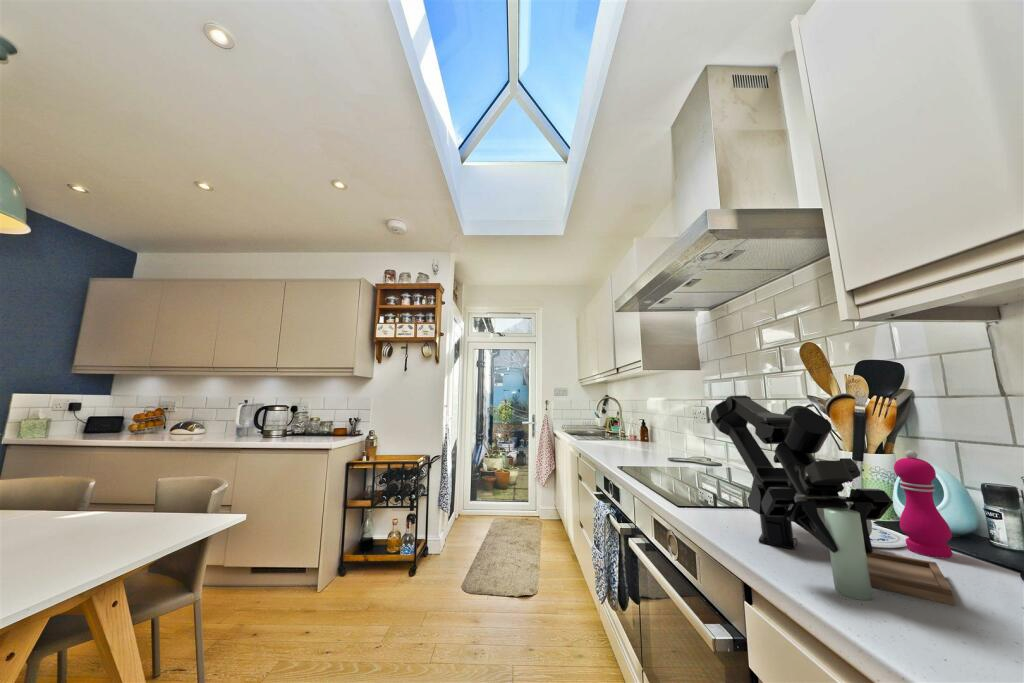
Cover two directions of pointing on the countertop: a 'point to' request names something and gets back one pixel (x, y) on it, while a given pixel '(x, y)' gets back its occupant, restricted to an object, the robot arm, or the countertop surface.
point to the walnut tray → (908, 577)
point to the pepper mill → (921, 509)
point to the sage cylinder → (848, 553)
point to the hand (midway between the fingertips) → (852, 552)
